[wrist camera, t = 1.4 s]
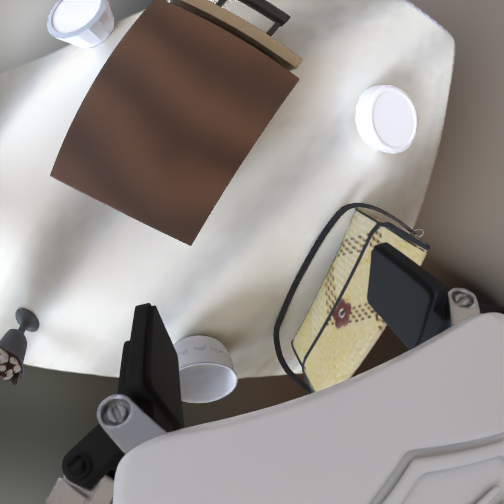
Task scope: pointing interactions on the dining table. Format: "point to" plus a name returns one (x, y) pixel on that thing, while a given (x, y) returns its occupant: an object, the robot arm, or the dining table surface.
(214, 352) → the teacup
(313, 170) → the dining table surface
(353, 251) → the clutch purse
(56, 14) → the white cylinder
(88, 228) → the dining table surface
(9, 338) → the sundae
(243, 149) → the cabinet
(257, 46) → the drawer
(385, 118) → the white round disc
